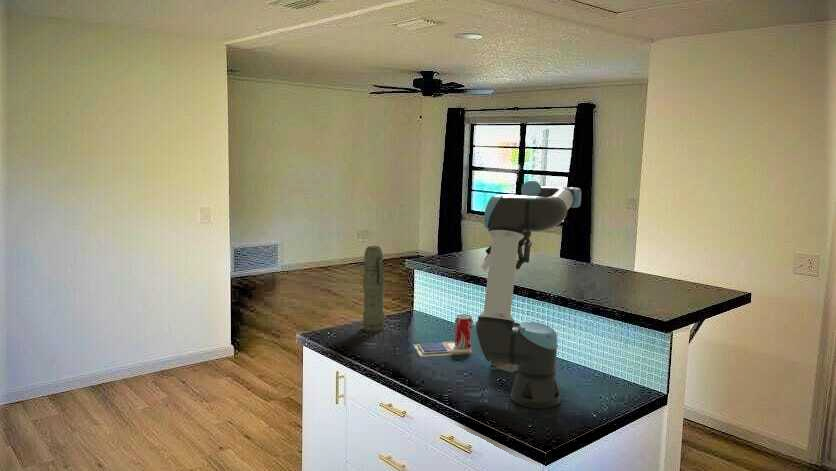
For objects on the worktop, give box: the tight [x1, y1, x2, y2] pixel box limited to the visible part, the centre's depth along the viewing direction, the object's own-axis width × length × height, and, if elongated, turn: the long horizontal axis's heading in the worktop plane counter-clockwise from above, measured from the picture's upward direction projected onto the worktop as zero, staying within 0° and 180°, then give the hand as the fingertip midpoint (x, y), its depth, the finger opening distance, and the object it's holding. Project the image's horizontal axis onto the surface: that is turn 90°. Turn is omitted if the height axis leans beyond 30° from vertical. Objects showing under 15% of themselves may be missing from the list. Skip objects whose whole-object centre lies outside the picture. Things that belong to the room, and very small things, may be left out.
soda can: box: [453, 313, 474, 349], centre depth 239 cm, size 7×7×12 cm
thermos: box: [362, 245, 385, 333], centre depth 262 cm, size 9×12×35 cm
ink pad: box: [417, 341, 450, 355], centre depth 237 cm, size 10×10×1 cm
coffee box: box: [490, 322, 521, 374], centre depth 220 cm, size 9×6×16 cm
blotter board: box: [412, 343, 473, 358], centre depth 239 cm, size 14×26×1 cm, turn 102°
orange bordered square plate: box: [442, 340, 473, 355], centre depth 240 cm, size 13×13×1 cm
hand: (496, 271), depth 238 cm, fingers open, 13 cm apart
